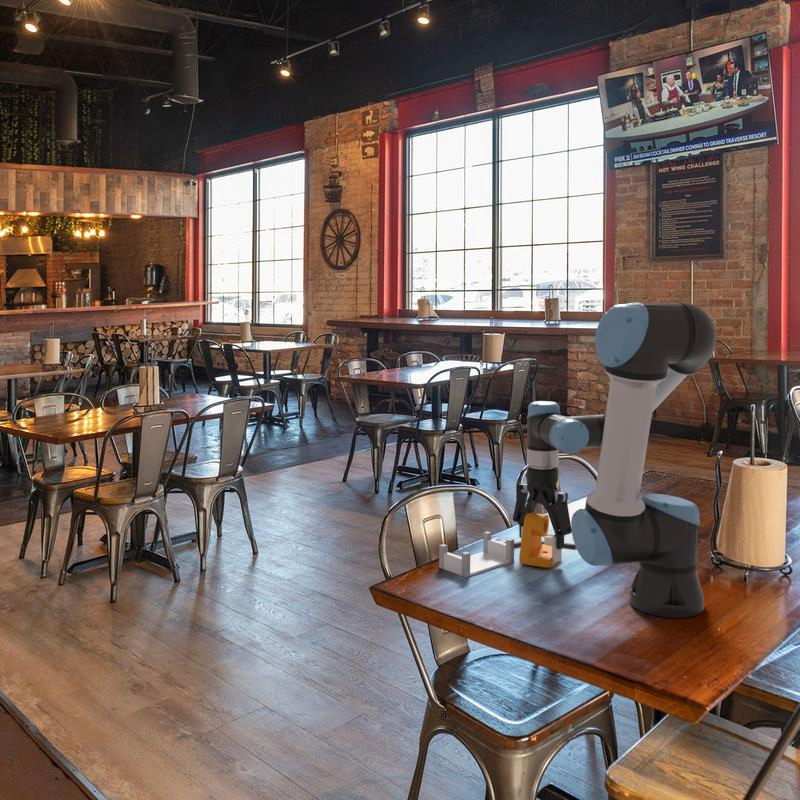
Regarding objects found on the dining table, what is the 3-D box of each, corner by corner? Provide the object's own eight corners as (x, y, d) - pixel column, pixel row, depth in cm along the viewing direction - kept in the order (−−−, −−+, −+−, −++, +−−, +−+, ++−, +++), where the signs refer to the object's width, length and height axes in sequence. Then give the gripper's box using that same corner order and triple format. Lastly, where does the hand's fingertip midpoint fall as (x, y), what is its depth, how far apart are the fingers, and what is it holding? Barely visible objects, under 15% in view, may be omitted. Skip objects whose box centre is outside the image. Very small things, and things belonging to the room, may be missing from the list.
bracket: (548, 571, 199) (549, 522, 197) (519, 566, 202) (519, 518, 200) (561, 557, 208) (562, 510, 206) (533, 553, 211) (534, 507, 210)
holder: (514, 561, 205) (514, 539, 204) (465, 577, 195) (466, 554, 194) (487, 552, 212) (487, 531, 211) (439, 567, 201) (439, 545, 201)
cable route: (577, 548, 215) (577, 538, 215) (490, 553, 211) (490, 543, 211) (568, 540, 221) (568, 531, 221) (484, 546, 217) (484, 536, 217)
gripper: (589, 471, 196) (586, 563, 199) (518, 456, 212) (517, 542, 215) (569, 476, 191) (566, 571, 194) (498, 460, 207) (497, 548, 210)
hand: (540, 556), depth 205 cm, fingers closed on bracket, 9 cm apart
